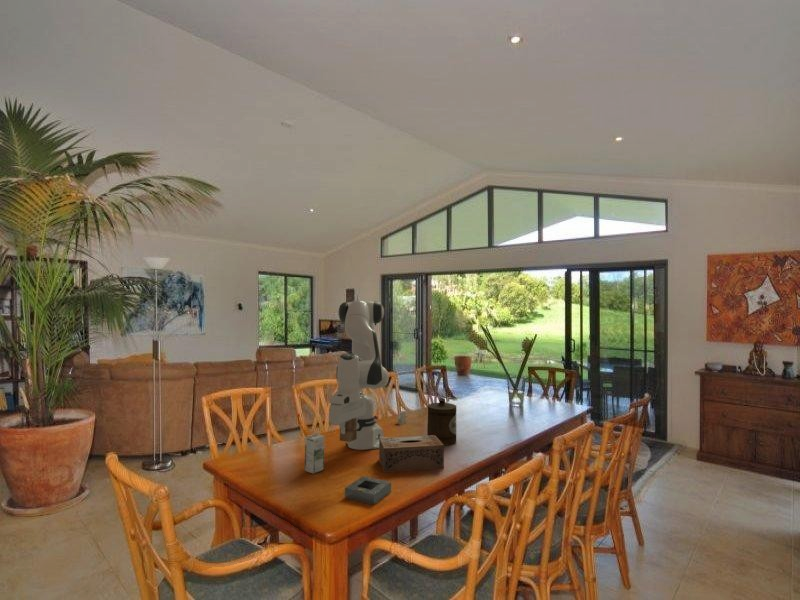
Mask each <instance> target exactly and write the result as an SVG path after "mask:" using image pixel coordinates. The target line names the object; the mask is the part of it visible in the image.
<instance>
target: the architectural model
mask: <svg viewBox="0 0 800 600" xmlns="http://www.w3.org/2000/svg"><path fill="white" fill-rule="evenodd" d="M406 418H407V411H406V410H404V411H402V410H401V411H400V412H399V415H398V416H397V417H395V419H396V420H397V425H404V424H405V423H406V422H407V419H406Z"/></svg>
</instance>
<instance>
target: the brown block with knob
mask: <svg viewBox="0 0 800 600" xmlns="http://www.w3.org/2000/svg"><path fill="white" fill-rule="evenodd" d="M345 428H346V429H347V433H345V434H341V429H340V428H339V441H341V442H345V443H346V442H351V441H353V440H356V439H357V418H355V419H352V420H349V421H347V422H345Z"/></svg>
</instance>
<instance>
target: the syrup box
mask: <svg viewBox="0 0 800 600" xmlns="http://www.w3.org/2000/svg"><path fill="white" fill-rule="evenodd" d="M304 439H305V441H304V442H305V446H304V471H305V472H308V473H310V474H316V473H319V472H322V471H324V470H325V436H324V435H322V434H320V433H313V434H311V435H307V436H305V438H304Z"/></svg>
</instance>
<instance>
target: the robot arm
mask: <svg viewBox="0 0 800 600" xmlns="http://www.w3.org/2000/svg"><path fill="white" fill-rule="evenodd" d="M337 312H338V318H339V320H340V322H341V323H343V324H344V332H345V335H346V336H347V337H348V338H349V339H350V340H351V352H350V353H349V352H348V353H342V354H341V355H339V357H338V363H337V366H336V377H335V379H336V382H337V386H336V387H337V388H336V392H334V393H333V395H331V396H330V397H329V398H328V403H329V404H330V405H329V407H328V421H329V424H330V425H331V426H332V425H333V426H338V427H339V430H340V429H341V434H345V433H347V429H346V428H345V422H347V421H349V420H352V419H355V418H357V439H356V440H353V441H351V442H346V441H345V443H346V444H347V447H348V448H350V449H353V450H360V451H362V450H363V451H364V450H365V451H366V450H373V449H375V450H376V449H379V438H388V437H387V436H384V431H383V428H382V427H381V426H380V425H378V424H377V421H376V420H378V419H379V414H378V415H377V414H376V415H375V412H374V411H375V410H374V409H375V408H374V407H375V402H374V400H373V398H372V397H370V396H368V395H367V394H364V392H363V391H362V390H363V389H364V390H367V389H369V390H371V389H382V388H384V387H386V386H387V385H388V383H389V380H390V379H389V378H390V374H389V371H388V370H387V369H386V368H385V367H384V366H383V365H382V362H381V355H380V347H379V341H378V337H377V333H376V331H375V329H374V327H375V326H377V324H380V323H381V322H382V320H383V318H384V315H385V308H384V306H383V304H382V303H381V302H380V301H370V300H369V301H368V300H359V299H358V300H353V301H345V302H342V303H341V304H340V305H339V307H338V311H337Z"/></svg>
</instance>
